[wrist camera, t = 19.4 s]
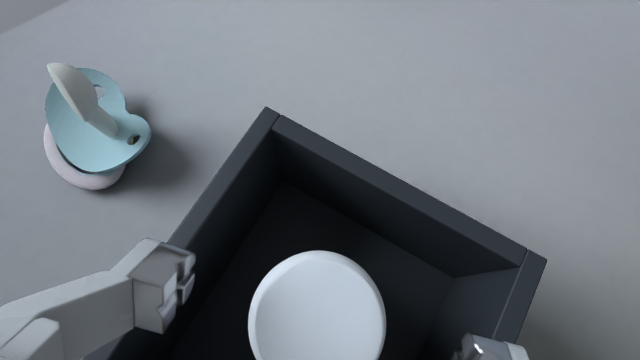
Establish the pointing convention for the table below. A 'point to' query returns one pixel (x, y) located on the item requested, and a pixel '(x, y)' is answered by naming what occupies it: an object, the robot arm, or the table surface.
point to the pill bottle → (317, 311)
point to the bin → (339, 237)
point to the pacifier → (90, 127)
